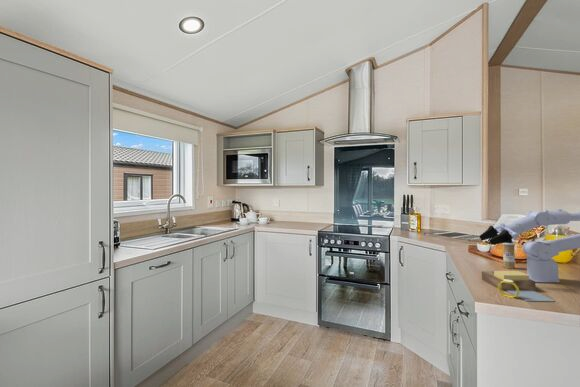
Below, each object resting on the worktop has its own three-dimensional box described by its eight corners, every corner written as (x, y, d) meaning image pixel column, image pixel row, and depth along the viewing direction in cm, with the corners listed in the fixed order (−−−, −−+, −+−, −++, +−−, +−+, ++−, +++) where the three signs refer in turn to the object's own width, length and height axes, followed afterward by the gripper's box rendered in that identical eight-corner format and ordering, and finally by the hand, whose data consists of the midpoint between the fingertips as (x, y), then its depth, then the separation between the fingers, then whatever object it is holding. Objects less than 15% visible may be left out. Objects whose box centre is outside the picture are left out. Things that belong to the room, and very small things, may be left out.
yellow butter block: (517, 275, 113) (517, 270, 113) (529, 280, 107) (529, 275, 107) (494, 275, 114) (494, 270, 114) (503, 280, 108) (503, 275, 108)
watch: (519, 298, 100) (520, 282, 99) (517, 300, 98) (518, 284, 97) (499, 292, 104) (500, 277, 104) (496, 294, 103) (497, 278, 102)
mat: (531, 290, 106) (531, 289, 106) (555, 301, 95) (555, 300, 95) (506, 290, 106) (506, 289, 106) (526, 301, 96) (526, 300, 96)
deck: (511, 279, 119) (511, 271, 119) (535, 290, 106) (535, 281, 106) (481, 279, 120) (481, 271, 120) (501, 290, 107) (501, 281, 107)
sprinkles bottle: (503, 268, 135) (502, 240, 135) (503, 266, 139) (503, 239, 138) (515, 269, 132) (514, 241, 132) (515, 267, 136) (514, 240, 136)
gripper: (502, 216, 126) (472, 228, 128) (524, 221, 111) (491, 235, 113) (509, 230, 126) (479, 242, 128) (532, 237, 111) (498, 251, 113)
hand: (485, 240), depth 121 cm, fingers open, 7 cm apart
